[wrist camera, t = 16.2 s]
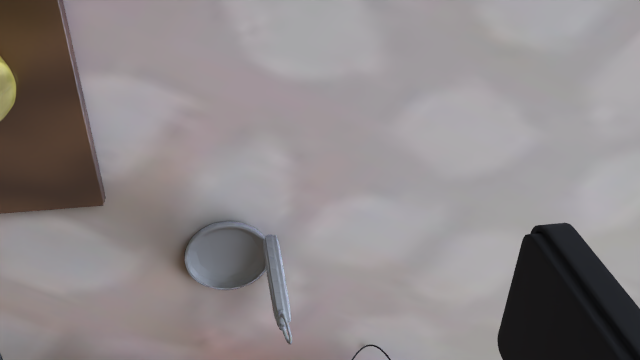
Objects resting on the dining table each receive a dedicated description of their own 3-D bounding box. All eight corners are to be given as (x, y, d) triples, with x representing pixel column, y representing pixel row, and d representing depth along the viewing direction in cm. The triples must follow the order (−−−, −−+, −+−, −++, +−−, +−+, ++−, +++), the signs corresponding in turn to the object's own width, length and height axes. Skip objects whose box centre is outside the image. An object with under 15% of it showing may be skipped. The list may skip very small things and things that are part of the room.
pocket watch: (166, 251, 48) (160, 352, 40) (247, 188, 46) (257, 280, 38) (238, 303, 52) (246, 403, 44) (314, 247, 50) (337, 341, 42)
